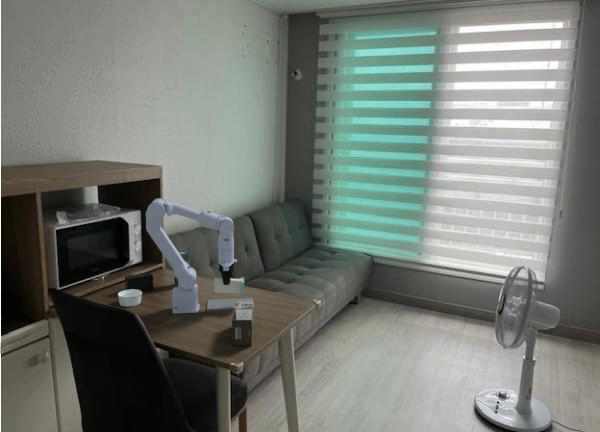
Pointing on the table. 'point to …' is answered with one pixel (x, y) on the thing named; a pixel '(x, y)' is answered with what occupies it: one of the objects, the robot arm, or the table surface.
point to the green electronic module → (185, 257)
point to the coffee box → (242, 323)
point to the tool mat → (225, 304)
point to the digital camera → (139, 282)
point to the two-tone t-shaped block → (229, 286)
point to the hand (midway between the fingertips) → (226, 283)
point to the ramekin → (129, 297)
